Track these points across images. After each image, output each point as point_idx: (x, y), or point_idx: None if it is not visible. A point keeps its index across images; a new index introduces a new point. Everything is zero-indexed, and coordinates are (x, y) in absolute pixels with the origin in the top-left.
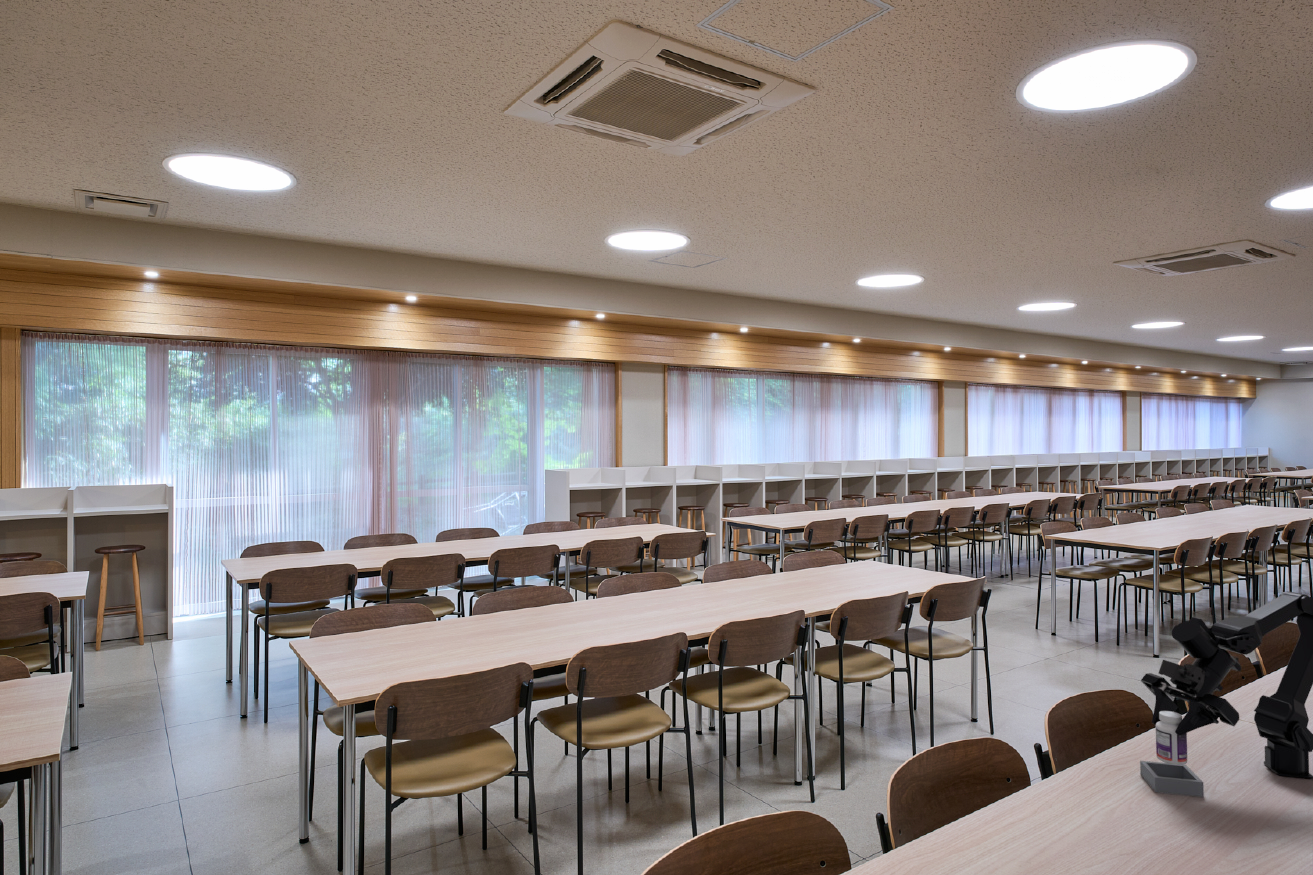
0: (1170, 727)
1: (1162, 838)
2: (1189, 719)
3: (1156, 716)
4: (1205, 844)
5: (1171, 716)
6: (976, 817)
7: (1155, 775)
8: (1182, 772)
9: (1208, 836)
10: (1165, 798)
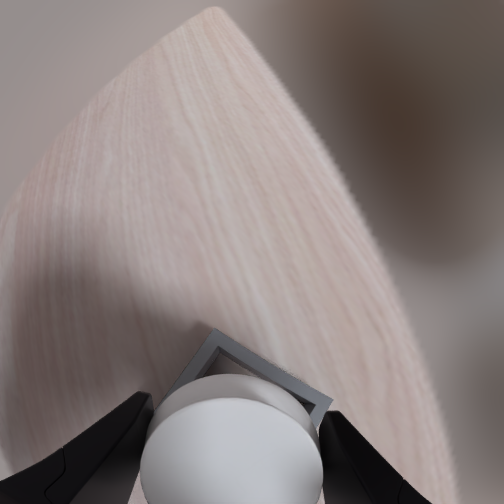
0: (185, 403)
1: (89, 171)
2: (54, 457)
3: (337, 442)
4: (43, 216)
5: (175, 428)
6: (252, 48)
7: (225, 343)
8: None
9: (48, 245)
10: (180, 327)
